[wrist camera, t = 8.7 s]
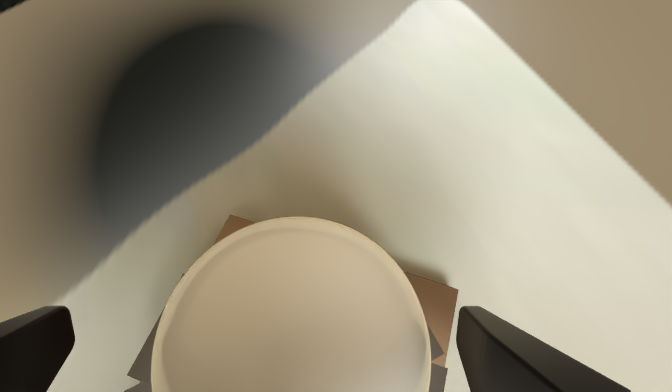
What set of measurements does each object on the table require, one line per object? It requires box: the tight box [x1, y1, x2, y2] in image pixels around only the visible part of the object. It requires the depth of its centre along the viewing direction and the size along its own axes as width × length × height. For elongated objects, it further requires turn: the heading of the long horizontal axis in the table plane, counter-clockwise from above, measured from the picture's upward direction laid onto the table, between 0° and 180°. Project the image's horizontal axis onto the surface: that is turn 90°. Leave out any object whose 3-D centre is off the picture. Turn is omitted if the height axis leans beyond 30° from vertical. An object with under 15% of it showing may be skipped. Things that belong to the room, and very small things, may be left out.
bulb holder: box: [124, 215, 458, 392], centre depth 15 cm, size 12×12×4 cm
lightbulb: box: [151, 217, 431, 392], centre depth 11 cm, size 6×6×11 cm
